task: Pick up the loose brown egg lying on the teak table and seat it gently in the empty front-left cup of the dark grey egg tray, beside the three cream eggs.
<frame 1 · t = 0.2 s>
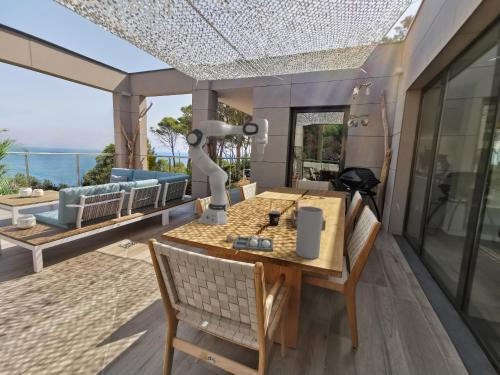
hand: (260, 160, 161), 48 cm above the table, fingers open, 8 cm apart
cream egg 1: (253, 247, 126), point 1 cm above the table, touching egg tray
cream egg 2: (254, 242, 133), point 1 cm above the table, touching egg tray
cylinder vase: (307, 254, 121), on the table
coffee mug: (271, 225, 168), on the table
cream egg 3: (265, 247, 125), point 1 cm above the table, touching egg tray
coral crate: (306, 223, 173), on the table
brown egg: (230, 241, 134), on the table
egg tray: (253, 245, 129), on the table
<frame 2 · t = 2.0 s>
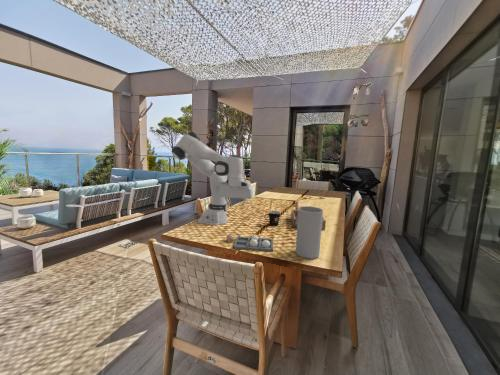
hand: (235, 205, 135), 22 cm above the table, fingers open, 8 cm apart
nothing on the table moved.
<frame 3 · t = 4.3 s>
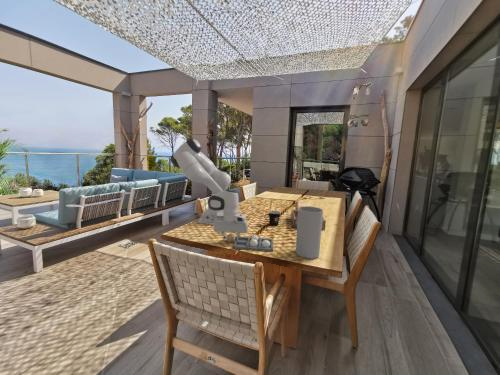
hand: (230, 238, 133), 2 cm above the table, fingers open, 6 cm apart
nothing on the table moved.
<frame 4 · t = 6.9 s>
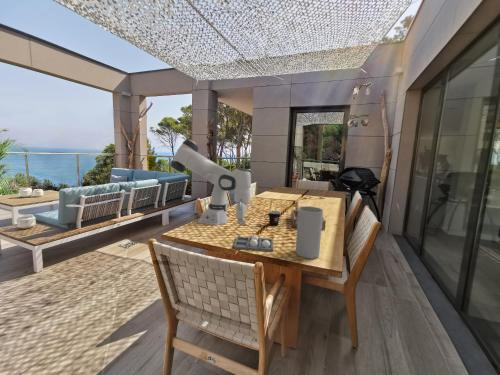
hand: (241, 222, 124), 15 cm above the table, fingers closed on brown egg, 5 cm apart
brown egg: (241, 225, 124), point 13 cm above the table, tilted 5°, touching gripper
everything else where it was.
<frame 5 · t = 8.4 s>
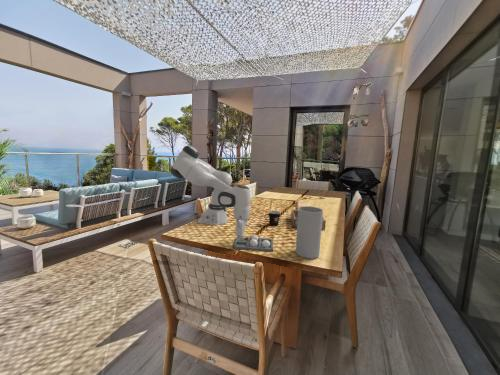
hand: (241, 238, 126), 5 cm above the table, fingers closed on brown egg, 5 cm apart
brown egg: (240, 241, 126), point 4 cm above the table, tilted 5°, touching gripper
everything else where it was.
when the fingers open (4 cm above the table, at t = 9.2 s): brown egg drops 1 cm, resting on egg tray.
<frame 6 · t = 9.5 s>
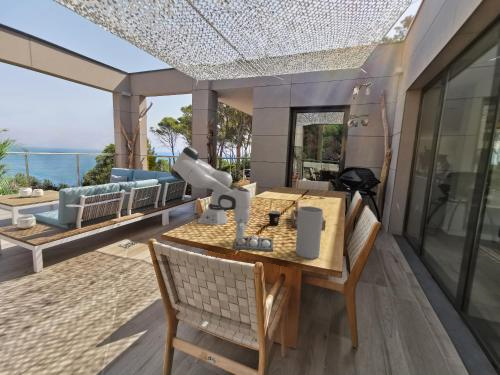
hand: (241, 240, 126), 4 cm above the table, fingers open, 7 cm apart
brown egg: (241, 246, 126), point 1 cm above the table, tilted 9°, touching egg tray
everything else where it was.
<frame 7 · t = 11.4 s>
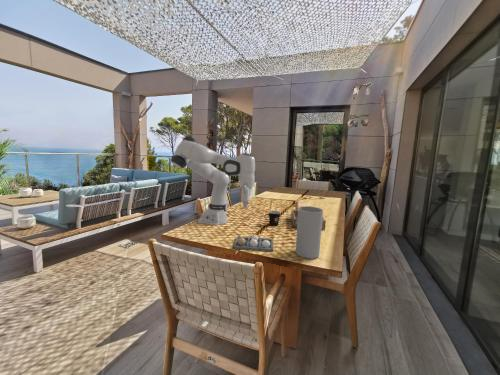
hand: (245, 206, 128), 23 cm above the table, fingers open, 8 cm apart
brown egg: (241, 245, 126), point 1 cm above the table, tilted 29°, touching egg tray
everything else where it was.
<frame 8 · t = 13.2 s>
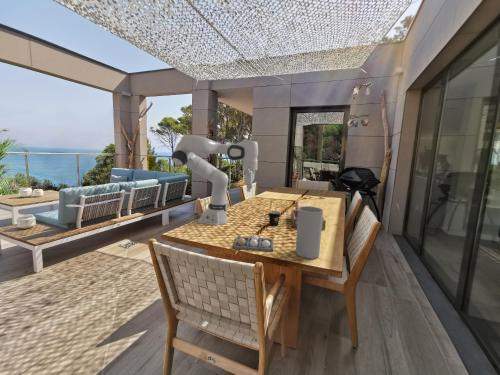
hand: (249, 190, 133), 31 cm above the table, fingers open, 8 cm apart
nothing on the table moved.
at the end: brown egg 0.2 cm from the target spot on the egg tray, point 0.8 cm above the egg tray's base; the gripper is holding nothing; cream egg 1 moved 0.1 cm from its start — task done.
